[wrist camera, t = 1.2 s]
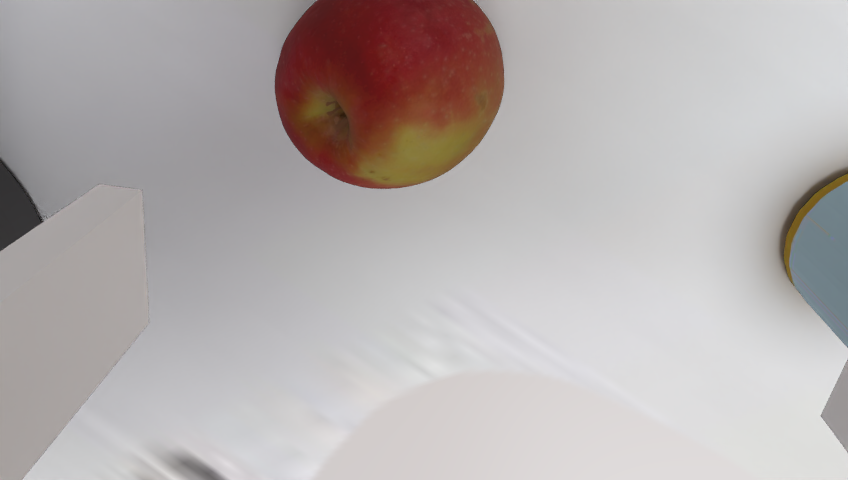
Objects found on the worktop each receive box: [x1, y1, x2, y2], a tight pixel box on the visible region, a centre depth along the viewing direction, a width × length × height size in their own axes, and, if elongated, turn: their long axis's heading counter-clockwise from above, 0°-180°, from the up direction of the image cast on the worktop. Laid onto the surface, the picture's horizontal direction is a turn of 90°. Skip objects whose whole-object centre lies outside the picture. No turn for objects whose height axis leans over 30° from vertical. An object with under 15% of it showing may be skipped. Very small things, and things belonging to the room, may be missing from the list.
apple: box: [275, 0, 504, 189], centre depth 24 cm, size 8×8×8 cm
